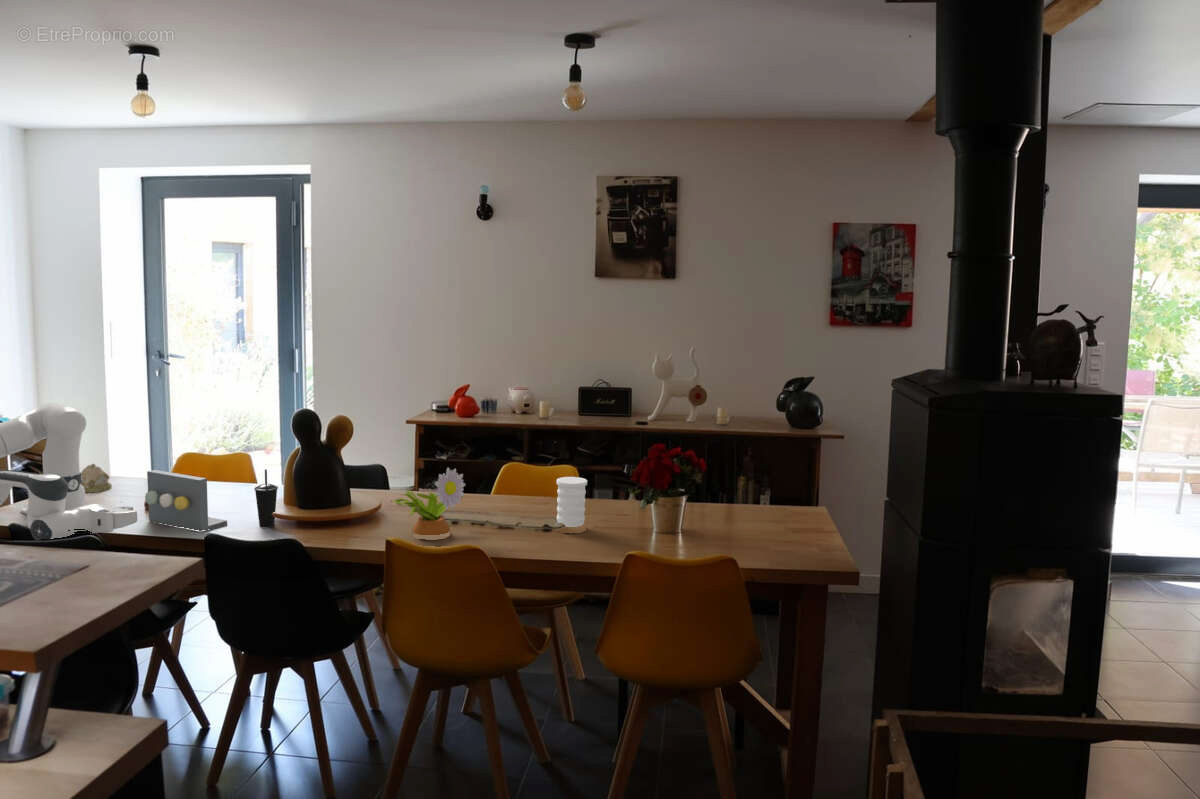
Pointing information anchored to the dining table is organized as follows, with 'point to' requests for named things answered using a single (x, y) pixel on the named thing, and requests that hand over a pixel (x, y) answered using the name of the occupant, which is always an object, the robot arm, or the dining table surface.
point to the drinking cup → (266, 503)
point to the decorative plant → (430, 515)
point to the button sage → (152, 497)
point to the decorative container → (571, 501)
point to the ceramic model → (94, 479)
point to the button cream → (166, 500)
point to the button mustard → (181, 503)
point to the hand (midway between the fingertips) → (130, 508)
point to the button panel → (179, 487)
